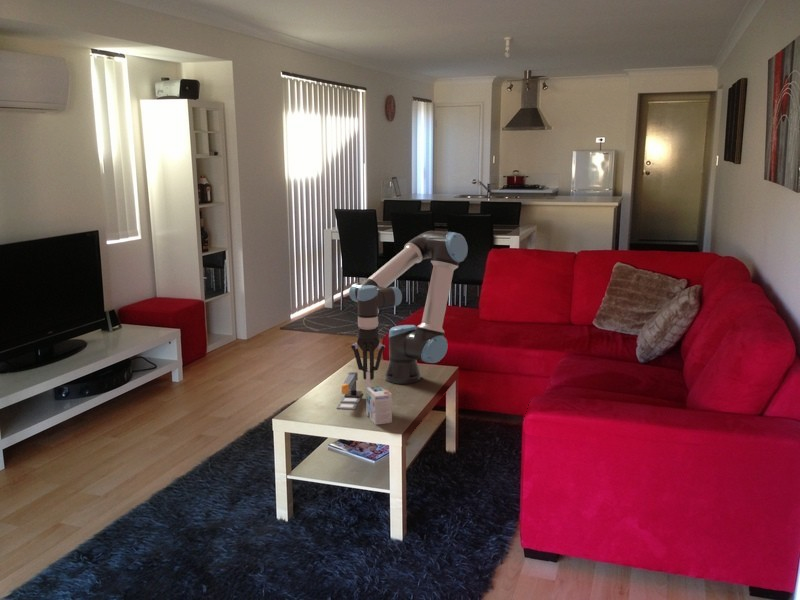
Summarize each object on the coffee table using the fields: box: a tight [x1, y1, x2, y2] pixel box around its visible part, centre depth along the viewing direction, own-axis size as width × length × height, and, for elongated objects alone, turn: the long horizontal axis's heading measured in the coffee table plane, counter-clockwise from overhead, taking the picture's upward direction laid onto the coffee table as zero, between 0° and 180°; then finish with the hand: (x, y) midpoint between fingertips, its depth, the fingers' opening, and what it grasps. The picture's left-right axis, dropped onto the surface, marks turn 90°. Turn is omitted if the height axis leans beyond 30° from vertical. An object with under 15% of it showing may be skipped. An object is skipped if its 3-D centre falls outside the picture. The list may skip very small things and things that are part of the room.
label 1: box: [340, 397, 362, 404], centre depth 273 cm, size 7×5×1 cm
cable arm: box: [341, 371, 359, 395], centre depth 270 cm, size 4×19×3 cm, turn 173°
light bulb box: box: [365, 385, 393, 426], centre depth 253 cm, size 11×7×11 cm, turn 21°
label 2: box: [336, 403, 358, 411], centre depth 267 cm, size 7×5×1 cm
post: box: [344, 381, 363, 398], centre depth 279 cm, size 6×6×6 cm
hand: (368, 387), depth 267 cm, fingers closed
